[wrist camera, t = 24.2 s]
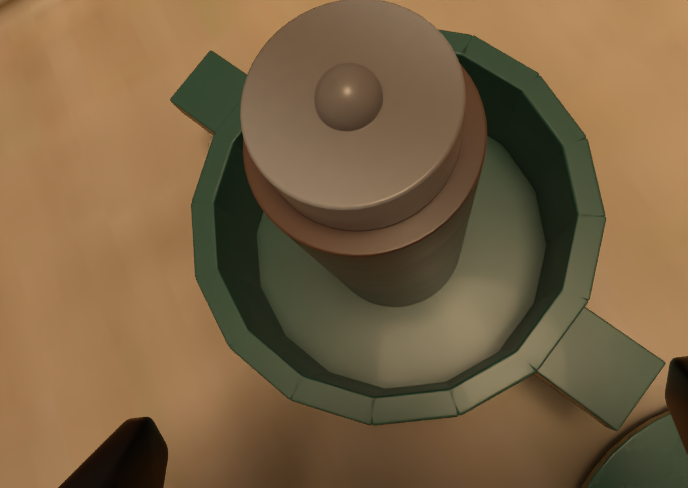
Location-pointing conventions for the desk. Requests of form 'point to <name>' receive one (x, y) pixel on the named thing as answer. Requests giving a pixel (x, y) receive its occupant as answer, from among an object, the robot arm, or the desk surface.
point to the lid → (644, 459)
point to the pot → (452, 299)
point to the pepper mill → (366, 146)
